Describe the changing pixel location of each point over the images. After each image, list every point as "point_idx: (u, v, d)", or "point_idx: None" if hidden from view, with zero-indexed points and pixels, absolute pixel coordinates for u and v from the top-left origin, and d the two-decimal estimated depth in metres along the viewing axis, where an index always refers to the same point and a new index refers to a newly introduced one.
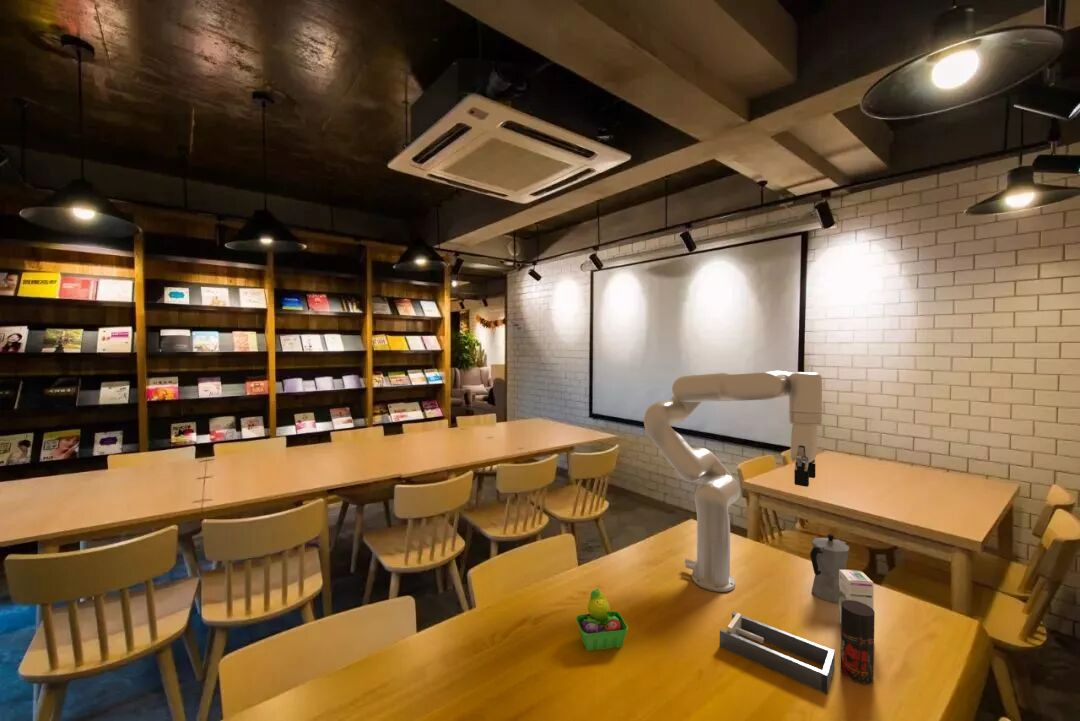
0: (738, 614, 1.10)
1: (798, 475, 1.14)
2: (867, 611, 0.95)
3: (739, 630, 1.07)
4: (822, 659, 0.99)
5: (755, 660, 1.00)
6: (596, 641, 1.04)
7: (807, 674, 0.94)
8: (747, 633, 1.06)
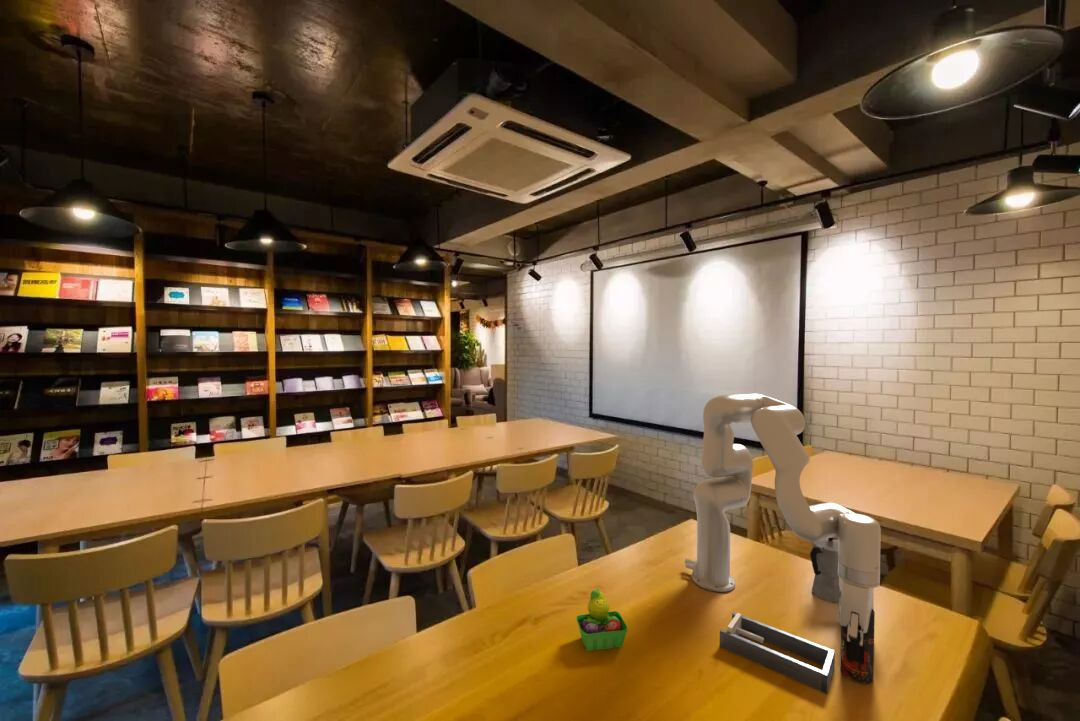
0: (738, 614, 1.10)
1: (851, 649, 0.94)
2: None
3: (739, 630, 1.07)
4: (822, 659, 0.99)
5: (755, 660, 1.00)
6: (596, 641, 1.04)
7: (807, 674, 0.94)
8: (747, 633, 1.06)
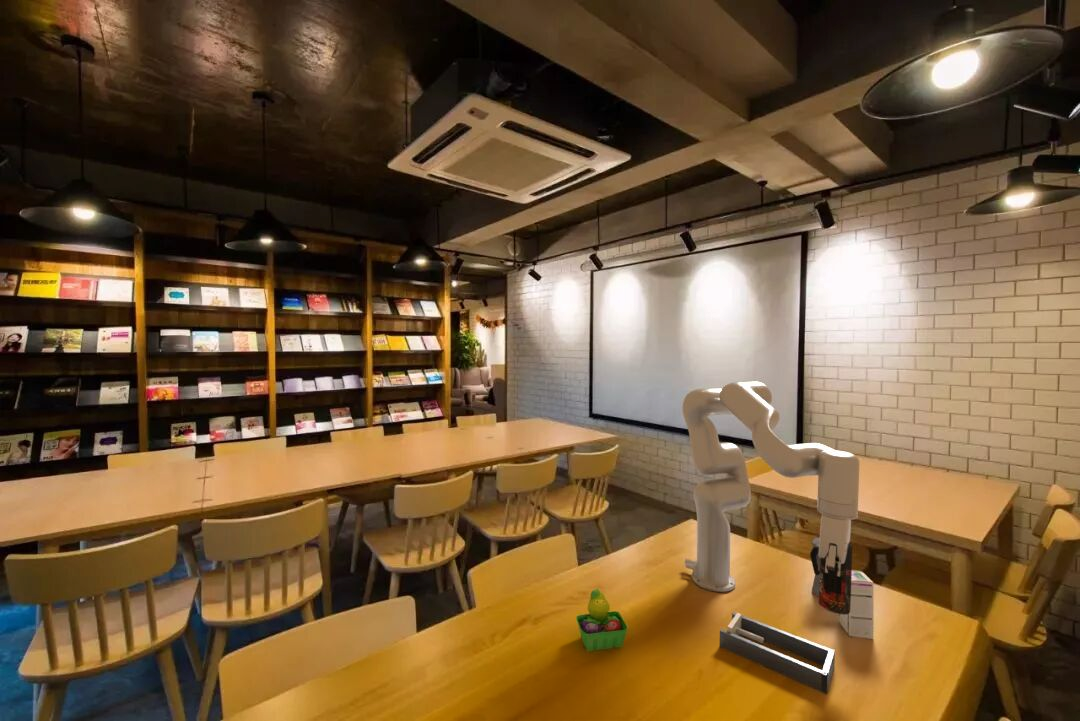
0: (738, 614, 1.10)
1: (829, 580, 0.96)
2: None
3: (739, 630, 1.07)
4: (822, 659, 0.99)
5: (755, 660, 1.00)
6: (596, 641, 1.04)
7: (807, 674, 0.94)
8: (747, 633, 1.06)
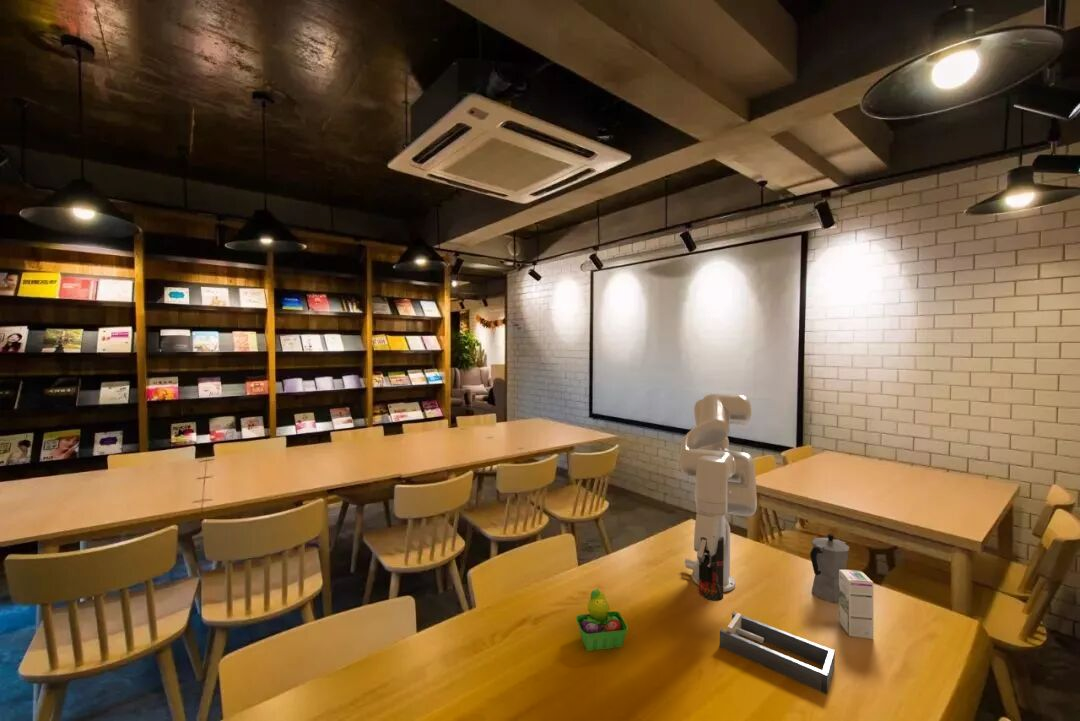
0: (738, 614, 1.10)
1: (702, 570, 1.09)
2: None
3: (739, 630, 1.07)
4: (822, 659, 0.99)
5: (755, 660, 1.00)
6: (596, 641, 1.04)
7: (807, 674, 0.94)
8: (747, 633, 1.06)
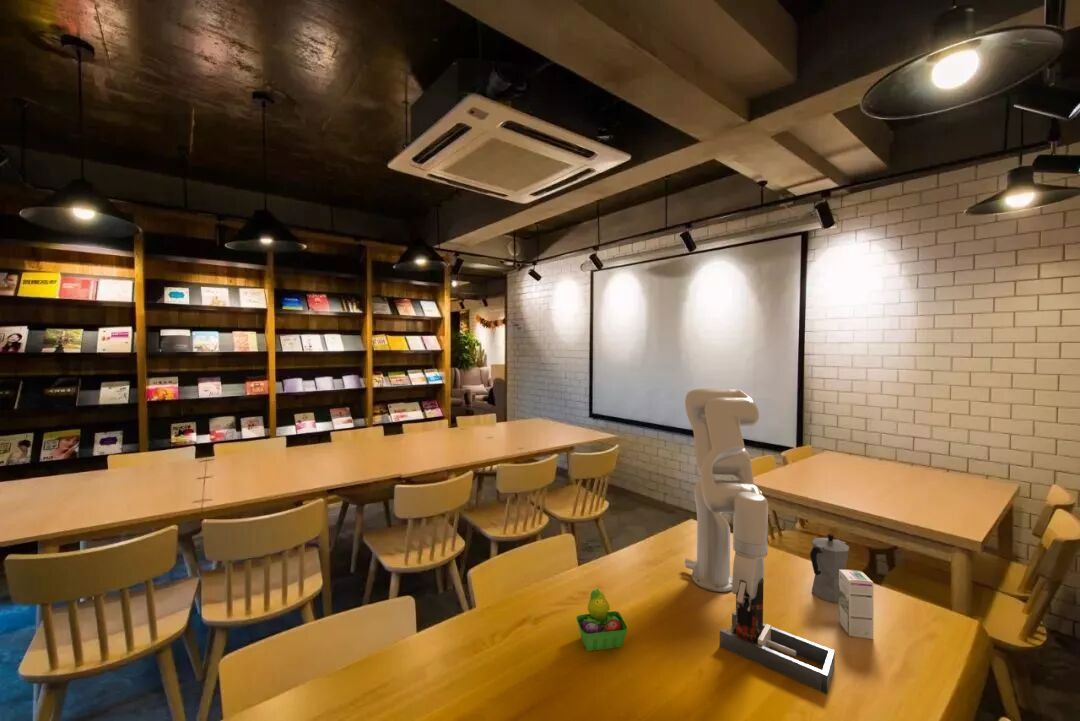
0: (767, 625, 1.06)
1: (741, 614, 1.03)
2: None
3: (769, 642, 1.03)
4: (822, 659, 0.99)
5: (755, 660, 1.00)
6: (596, 641, 1.04)
7: (807, 674, 0.94)
8: (778, 646, 1.01)
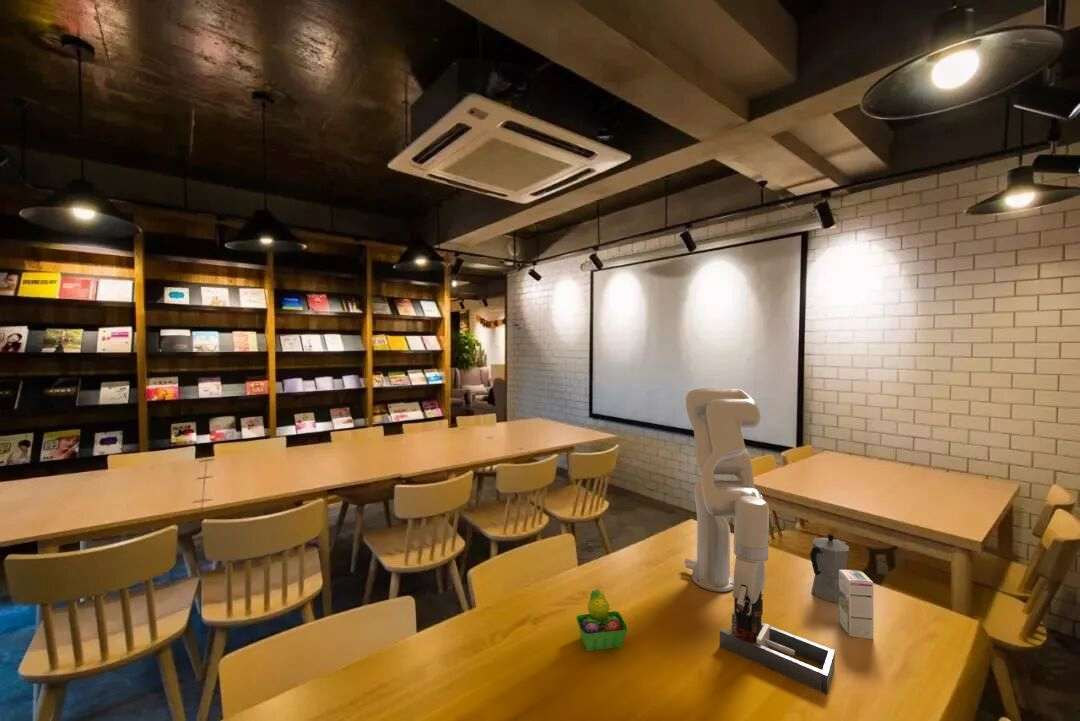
0: (766, 625, 1.06)
1: (741, 618, 1.02)
2: None
3: (768, 642, 1.03)
4: (822, 659, 0.99)
5: (755, 660, 1.00)
6: (596, 641, 1.04)
7: (807, 674, 0.94)
8: (776, 645, 1.02)
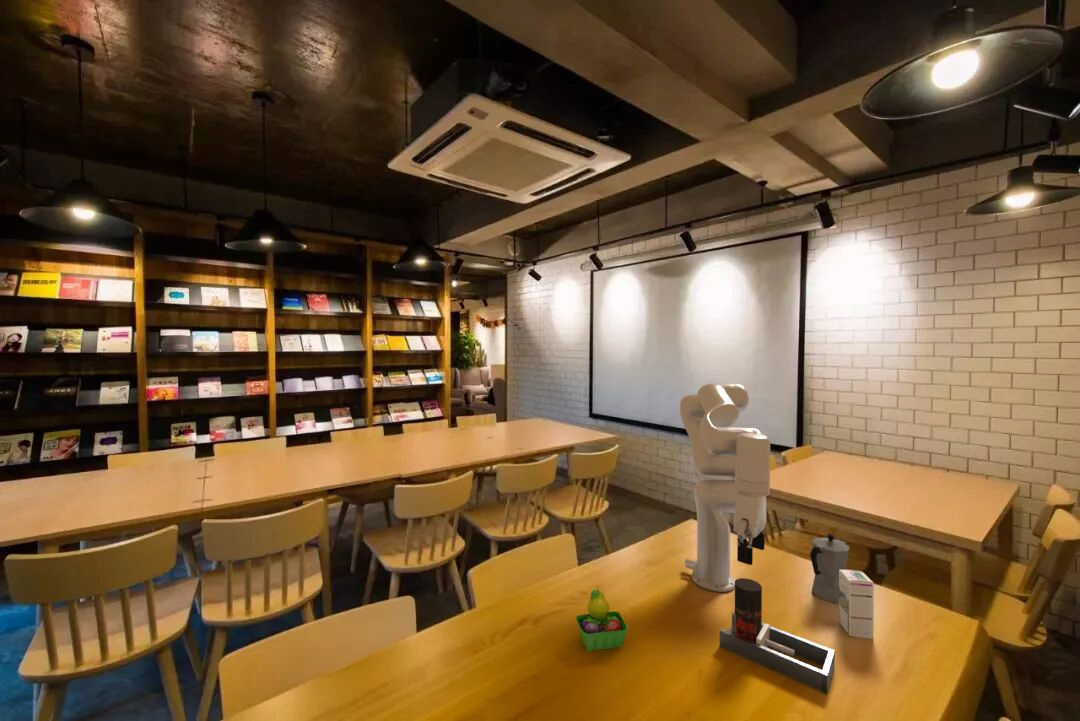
0: (766, 625, 1.06)
1: (741, 551, 1.02)
2: (755, 587, 1.05)
3: (768, 642, 1.03)
4: (822, 659, 0.99)
5: (755, 660, 1.00)
6: (596, 641, 1.04)
7: (807, 674, 0.94)
8: (776, 645, 1.02)
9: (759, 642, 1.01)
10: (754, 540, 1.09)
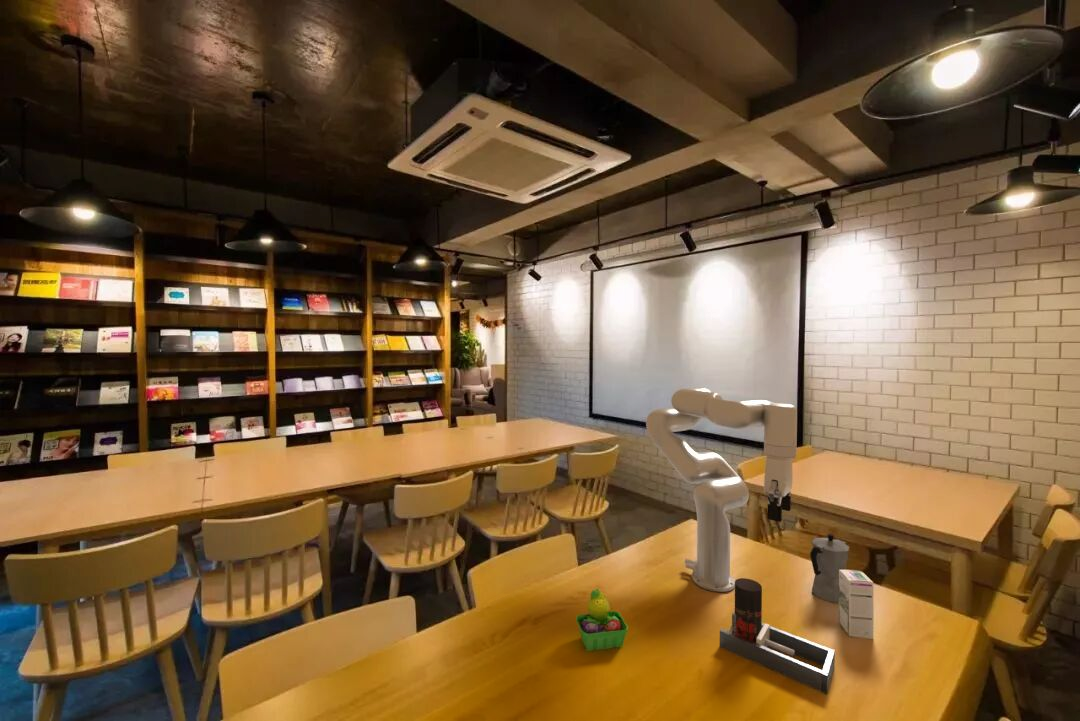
0: (766, 625, 1.06)
1: (771, 510, 1.11)
2: (755, 587, 1.05)
3: (768, 642, 1.03)
4: (822, 659, 0.99)
5: (755, 660, 1.00)
6: (596, 641, 1.04)
7: (807, 674, 0.94)
8: (776, 645, 1.02)
9: (759, 642, 1.01)
10: (781, 502, 1.19)
